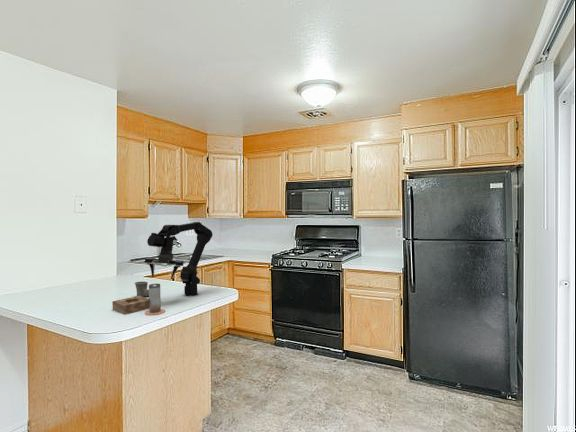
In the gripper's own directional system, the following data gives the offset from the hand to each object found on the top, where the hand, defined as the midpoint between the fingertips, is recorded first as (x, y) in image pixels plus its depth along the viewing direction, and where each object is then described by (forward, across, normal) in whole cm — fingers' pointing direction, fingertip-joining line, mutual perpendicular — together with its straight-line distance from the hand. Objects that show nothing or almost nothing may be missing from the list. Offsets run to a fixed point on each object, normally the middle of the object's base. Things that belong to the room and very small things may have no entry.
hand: (162, 278), depth 177 cm
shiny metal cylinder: (+14, +1, -15) cm, 21 cm away
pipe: (+12, -9, +18) cm, 23 cm away
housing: (+15, -11, -6) cm, 20 cm away
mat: (+15, +1, -15) cm, 21 cm away
